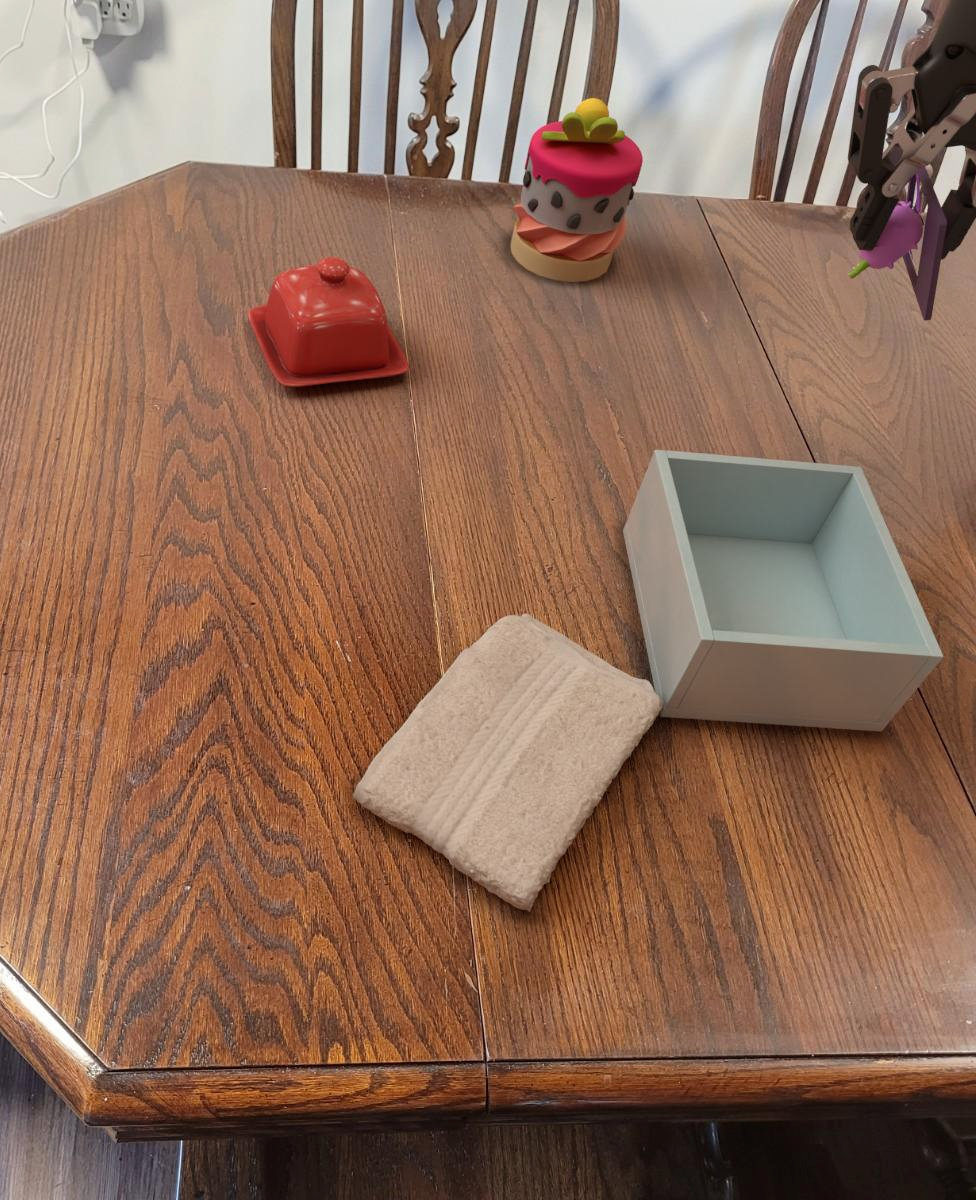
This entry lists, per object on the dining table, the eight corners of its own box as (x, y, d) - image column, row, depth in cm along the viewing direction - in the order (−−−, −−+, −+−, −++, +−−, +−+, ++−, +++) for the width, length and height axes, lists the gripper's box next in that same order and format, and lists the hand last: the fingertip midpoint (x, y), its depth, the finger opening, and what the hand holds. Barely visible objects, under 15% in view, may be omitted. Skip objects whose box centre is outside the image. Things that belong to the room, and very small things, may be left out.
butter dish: (369, 305, 93) (379, 217, 86) (412, 385, 86) (426, 295, 80) (243, 319, 90) (243, 228, 83) (277, 403, 83) (280, 310, 76)
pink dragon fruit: (961, 220, 61) (931, 150, 67) (863, 232, 62) (843, 163, 68) (944, 320, 65) (917, 246, 71) (853, 329, 67) (835, 256, 73)
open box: (813, 546, 78) (861, 466, 72) (881, 732, 67) (944, 656, 61) (622, 531, 77) (654, 448, 71) (659, 717, 66) (701, 639, 60)
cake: (497, 224, 104) (528, 69, 93) (598, 227, 106) (641, 75, 95) (517, 283, 98) (554, 124, 86) (625, 286, 99) (675, 130, 88)
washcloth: (662, 712, 67) (677, 683, 64) (526, 928, 56) (538, 903, 54) (502, 620, 70) (511, 590, 68) (347, 808, 60) (351, 780, 57)
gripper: (948, -43, 51) (803, 268, 64) (1222, -6, 52) (1025, 293, 65) (901, -92, 56) (776, 206, 69) (1153, -57, 57) (982, 230, 70)
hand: (897, 247), depth 67 cm, fingers closed on pink dragon fruit, 4 cm apart
